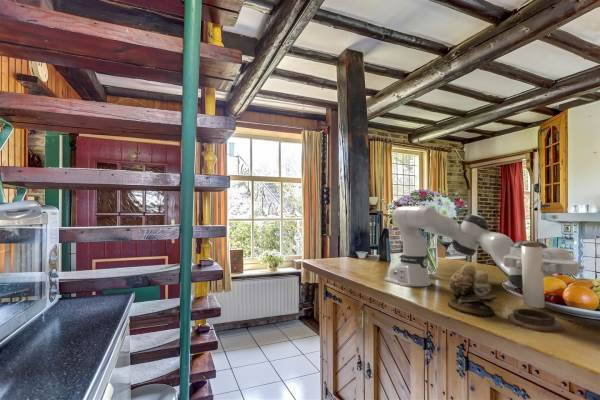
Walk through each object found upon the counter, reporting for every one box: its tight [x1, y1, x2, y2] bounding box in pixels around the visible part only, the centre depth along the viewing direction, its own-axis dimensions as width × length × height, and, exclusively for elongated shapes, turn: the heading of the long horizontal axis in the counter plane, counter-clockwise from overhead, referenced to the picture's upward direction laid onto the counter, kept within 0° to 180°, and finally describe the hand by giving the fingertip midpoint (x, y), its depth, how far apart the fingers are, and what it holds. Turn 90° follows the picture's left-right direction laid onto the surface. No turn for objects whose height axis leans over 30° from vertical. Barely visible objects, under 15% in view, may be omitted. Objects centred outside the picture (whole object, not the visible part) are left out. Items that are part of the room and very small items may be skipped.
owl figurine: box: [447, 263, 498, 318], centre depth 111 cm, size 18×12×17 cm, turn 25°
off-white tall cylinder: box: [521, 241, 546, 309], centre depth 98 cm, size 6×6×20 cm
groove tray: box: [507, 307, 563, 333], centre depth 98 cm, size 14×14×3 cm
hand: (531, 267), depth 97 cm, fingers closed on off-white tall cylinder, 5 cm apart
